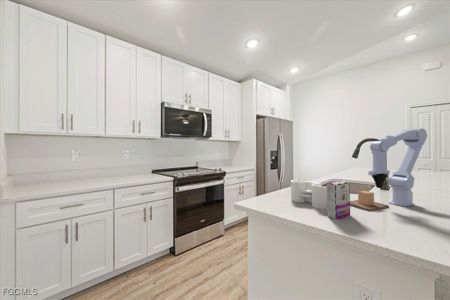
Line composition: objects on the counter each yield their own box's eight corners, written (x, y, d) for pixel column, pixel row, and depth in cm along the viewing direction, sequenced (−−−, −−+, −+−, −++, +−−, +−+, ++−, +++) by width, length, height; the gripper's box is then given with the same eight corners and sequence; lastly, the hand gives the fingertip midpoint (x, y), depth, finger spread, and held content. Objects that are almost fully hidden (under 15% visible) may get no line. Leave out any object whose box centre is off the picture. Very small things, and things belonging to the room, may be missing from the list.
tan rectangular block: (364, 202, 116) (364, 190, 116) (374, 204, 111) (374, 192, 111) (358, 203, 114) (358, 191, 114) (367, 205, 109) (367, 193, 109)
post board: (363, 200, 122) (363, 191, 122) (388, 207, 109) (388, 197, 109) (344, 203, 117) (343, 194, 117) (368, 211, 104) (368, 200, 103)
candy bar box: (340, 212, 102) (340, 180, 102) (350, 215, 98) (350, 181, 97) (326, 216, 97) (326, 182, 97) (336, 219, 93) (336, 184, 92)
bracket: (287, 200, 127) (287, 180, 127) (297, 197, 132) (297, 179, 132) (325, 210, 106) (325, 187, 106) (335, 207, 111) (335, 185, 111)
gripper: (378, 164, 104) (378, 190, 104) (396, 163, 109) (395, 187, 110) (364, 163, 111) (364, 187, 111) (381, 162, 116) (381, 185, 116)
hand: (379, 187), depth 111 cm, fingers closed
